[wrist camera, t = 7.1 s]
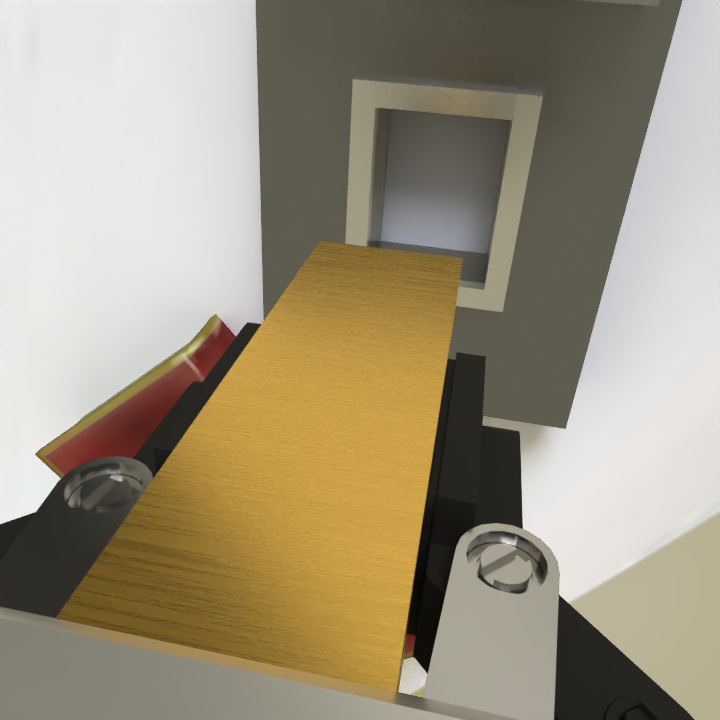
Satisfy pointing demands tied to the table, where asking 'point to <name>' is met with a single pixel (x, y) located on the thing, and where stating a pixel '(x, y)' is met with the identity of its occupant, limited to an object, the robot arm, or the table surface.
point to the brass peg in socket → (298, 481)
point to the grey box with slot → (519, 167)
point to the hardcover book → (143, 410)
